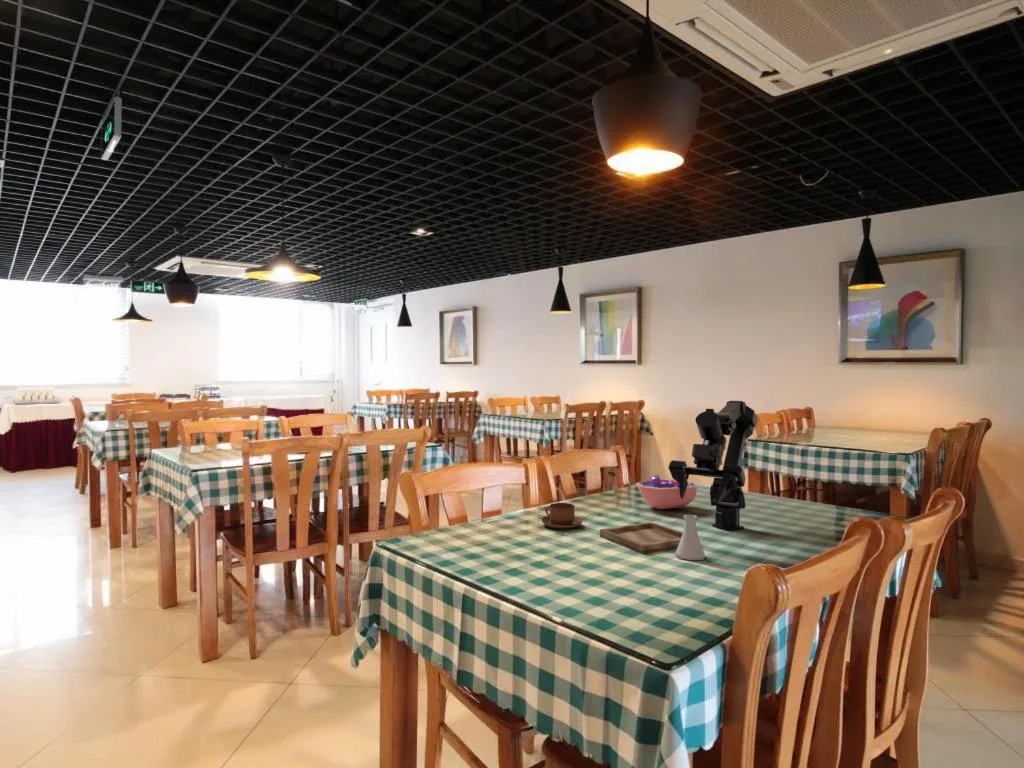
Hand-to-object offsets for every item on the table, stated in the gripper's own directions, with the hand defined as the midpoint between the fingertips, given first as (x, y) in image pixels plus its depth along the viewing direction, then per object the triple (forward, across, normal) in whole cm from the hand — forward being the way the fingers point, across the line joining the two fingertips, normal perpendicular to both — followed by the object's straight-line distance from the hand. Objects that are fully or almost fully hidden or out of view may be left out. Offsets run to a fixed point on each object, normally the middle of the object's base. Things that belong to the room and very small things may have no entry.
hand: (698, 499), depth 153 cm
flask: (+14, 0, +5) cm, 15 cm away
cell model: (-20, -23, +38) cm, 49 cm away
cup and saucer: (+8, -41, +11) cm, 43 cm away
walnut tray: (+8, -14, +10) cm, 19 cm away
